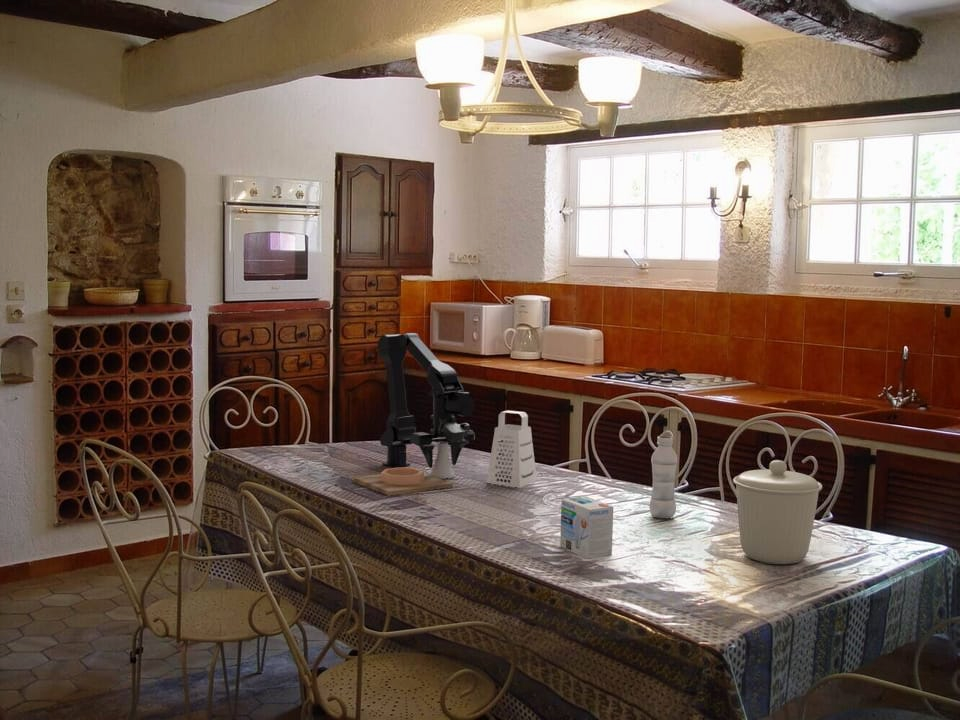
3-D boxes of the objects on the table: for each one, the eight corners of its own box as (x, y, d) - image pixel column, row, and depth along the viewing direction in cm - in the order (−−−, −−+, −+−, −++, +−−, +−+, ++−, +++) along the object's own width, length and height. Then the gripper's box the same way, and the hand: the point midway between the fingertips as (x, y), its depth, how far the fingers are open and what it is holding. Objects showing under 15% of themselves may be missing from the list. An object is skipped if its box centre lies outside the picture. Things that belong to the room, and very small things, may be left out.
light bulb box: (558, 546, 221) (560, 498, 220) (584, 543, 224) (585, 495, 223) (587, 559, 211) (588, 509, 210) (613, 555, 215) (614, 506, 214)
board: (353, 481, 282) (353, 477, 281) (414, 474, 293) (414, 470, 293) (388, 496, 265) (388, 491, 265) (452, 487, 277) (452, 483, 277)
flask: (454, 480, 286) (454, 445, 285) (428, 479, 287) (429, 444, 286) (455, 474, 294) (455, 440, 293) (430, 474, 294) (430, 440, 293)
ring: (375, 478, 280) (375, 470, 280) (409, 474, 287) (409, 466, 286) (395, 486, 271) (395, 477, 271) (430, 481, 278) (430, 473, 277)
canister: (836, 567, 209) (841, 467, 207) (759, 573, 204) (764, 470, 202) (786, 543, 226) (790, 450, 224) (714, 549, 221) (718, 454, 219)
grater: (519, 488, 277) (521, 416, 275) (486, 483, 283) (487, 412, 281) (536, 481, 286) (538, 411, 284) (504, 476, 292) (505, 408, 290)
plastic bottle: (646, 519, 245) (649, 438, 243) (651, 513, 252) (654, 434, 250) (673, 522, 243) (676, 440, 241) (677, 516, 249) (680, 436, 248)
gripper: (430, 418, 276) (429, 475, 278) (486, 414, 287) (485, 468, 289) (409, 413, 285) (408, 467, 287) (464, 408, 296) (463, 461, 298)
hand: (442, 466), depth 290 cm, fingers open, 8 cm apart
